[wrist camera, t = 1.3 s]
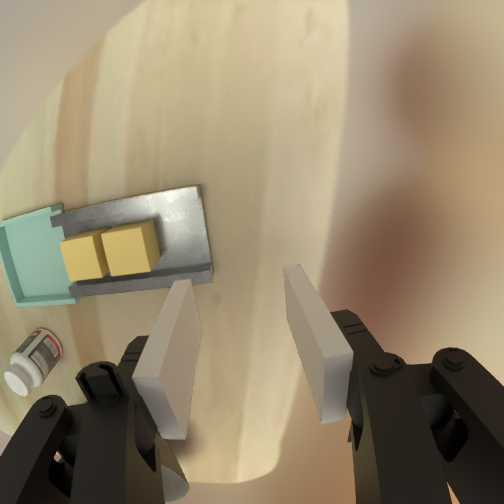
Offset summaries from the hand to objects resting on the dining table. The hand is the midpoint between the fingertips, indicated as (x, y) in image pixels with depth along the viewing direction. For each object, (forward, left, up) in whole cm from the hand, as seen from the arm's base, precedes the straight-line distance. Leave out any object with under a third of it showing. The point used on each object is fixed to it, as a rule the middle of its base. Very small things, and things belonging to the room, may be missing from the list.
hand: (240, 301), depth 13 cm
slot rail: (-11, 0, -17) cm, 20 cm away
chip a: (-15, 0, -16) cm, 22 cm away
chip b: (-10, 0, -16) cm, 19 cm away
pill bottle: (-29, -13, -17) cm, 36 cm away
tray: (-25, 0, -17) cm, 30 cm away
